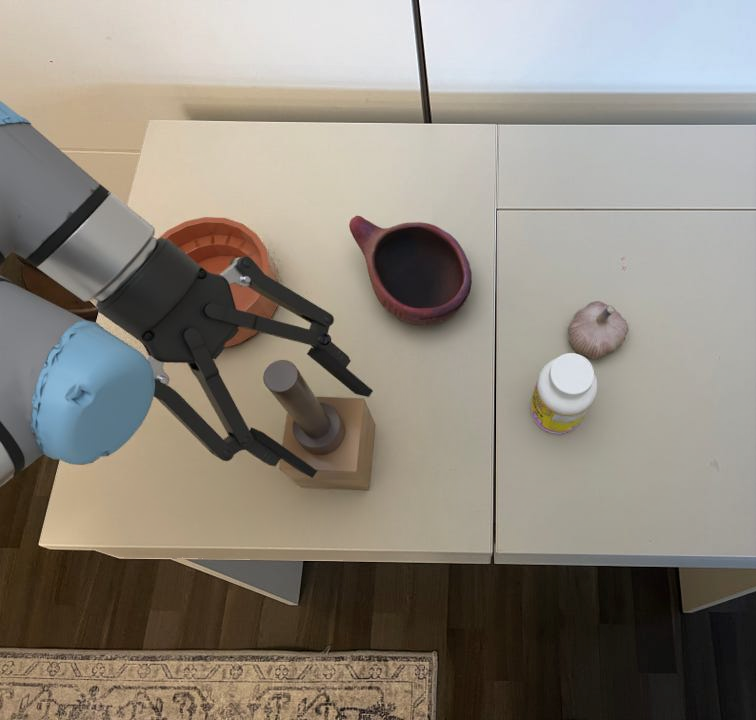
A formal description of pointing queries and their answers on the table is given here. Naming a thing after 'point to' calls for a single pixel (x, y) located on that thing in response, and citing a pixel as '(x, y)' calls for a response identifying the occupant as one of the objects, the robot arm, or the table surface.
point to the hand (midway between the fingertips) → (336, 430)
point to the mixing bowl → (227, 259)
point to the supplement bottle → (563, 393)
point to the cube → (337, 450)
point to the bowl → (414, 269)
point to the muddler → (305, 409)
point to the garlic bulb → (597, 330)
